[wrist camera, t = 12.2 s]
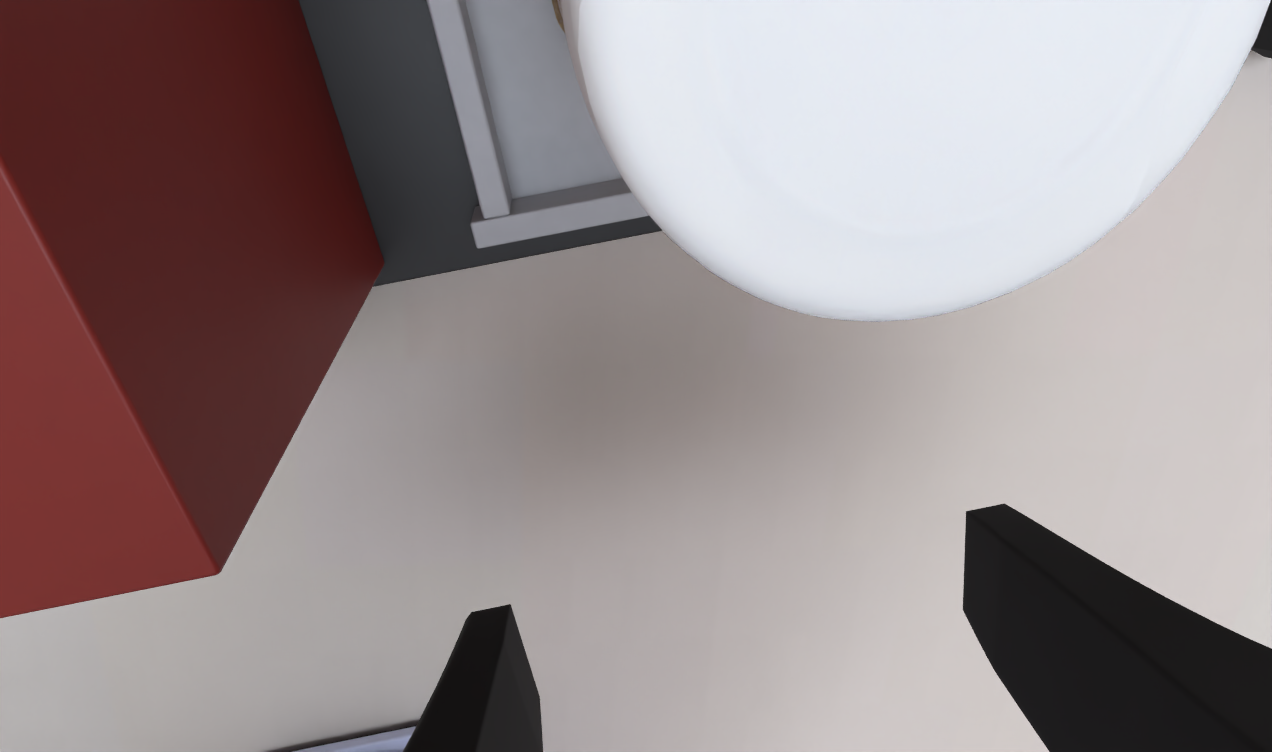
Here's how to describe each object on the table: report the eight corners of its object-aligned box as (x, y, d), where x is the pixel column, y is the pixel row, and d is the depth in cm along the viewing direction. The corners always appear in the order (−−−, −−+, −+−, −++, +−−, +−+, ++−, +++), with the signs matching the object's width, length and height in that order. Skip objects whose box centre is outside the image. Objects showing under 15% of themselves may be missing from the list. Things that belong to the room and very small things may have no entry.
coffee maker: (896, 173, 20) (1290, 397, 10) (216, 305, 20) (-155, 687, 9) (889, -399, 15) (1703, -1259, 5) (-23, -235, 15) (-1448, -760, 4)
